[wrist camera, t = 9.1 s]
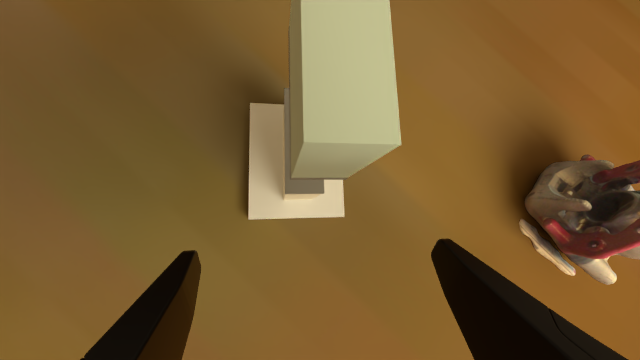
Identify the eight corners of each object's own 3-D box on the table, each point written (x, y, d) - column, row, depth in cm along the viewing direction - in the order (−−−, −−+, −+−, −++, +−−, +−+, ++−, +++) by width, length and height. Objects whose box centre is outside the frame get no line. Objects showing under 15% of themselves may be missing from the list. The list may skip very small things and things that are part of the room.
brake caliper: (558, 121, 26) (795, 141, 17) (551, 187, 33) (718, 227, 23) (504, 204, 23) (750, 282, 14) (508, 258, 30) (677, 334, 21)
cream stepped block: (341, 216, 23) (366, 214, 17) (249, 219, 22) (238, 218, 15) (336, 111, 24) (358, 73, 18) (251, 108, 23) (241, 64, 17)
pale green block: (345, 179, 11) (402, 145, 6) (290, 179, 11) (302, 142, 6) (339, 36, 12) (382, -91, 7) (288, 32, 12) (297, -107, 7)
